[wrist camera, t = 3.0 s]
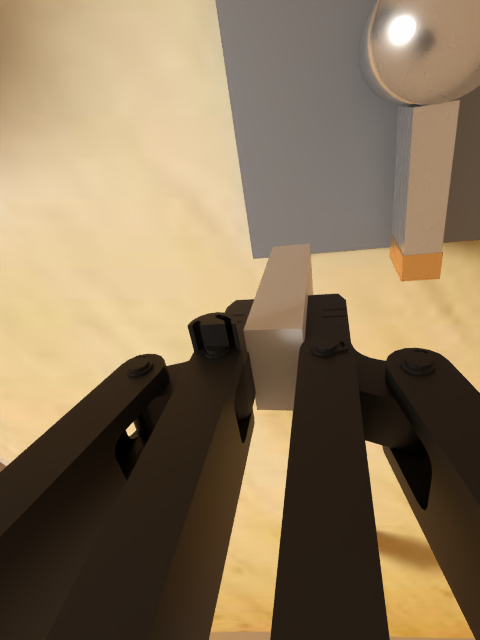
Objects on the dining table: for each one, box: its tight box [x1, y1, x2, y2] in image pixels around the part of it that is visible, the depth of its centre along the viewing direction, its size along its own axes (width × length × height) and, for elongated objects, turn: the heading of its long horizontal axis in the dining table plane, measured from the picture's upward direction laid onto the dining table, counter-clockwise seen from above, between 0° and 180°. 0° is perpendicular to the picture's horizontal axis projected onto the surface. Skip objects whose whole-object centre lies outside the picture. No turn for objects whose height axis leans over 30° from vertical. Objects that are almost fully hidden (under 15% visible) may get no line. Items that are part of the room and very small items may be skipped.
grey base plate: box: [216, 0, 480, 259], centre depth 21 cm, size 22×24×2 cm
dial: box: [359, 0, 480, 281], centre depth 20 cm, size 15×6×6 cm, turn 9°
